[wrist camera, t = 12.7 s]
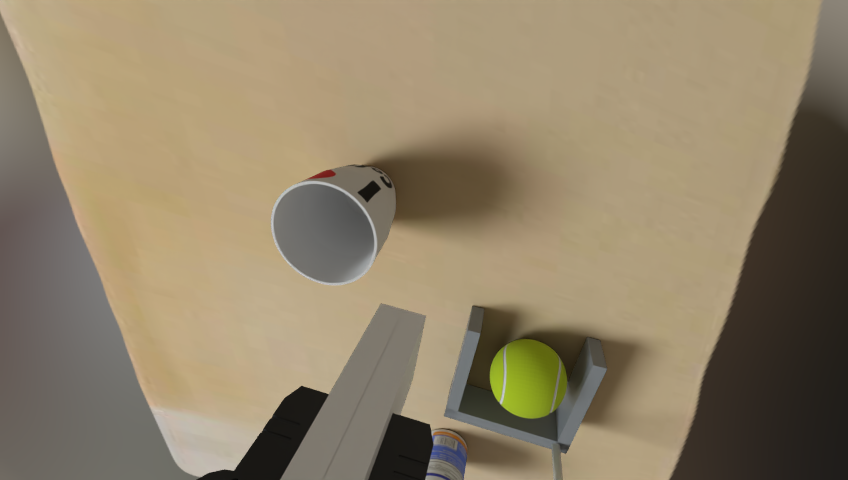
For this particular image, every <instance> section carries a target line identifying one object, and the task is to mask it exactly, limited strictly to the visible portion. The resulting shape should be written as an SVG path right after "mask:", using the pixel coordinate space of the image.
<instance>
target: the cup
mask: <svg viewBox="0 0 848 480" xmlns="http://www.w3.org/2000/svg"><path fill="white" fill-rule="evenodd" d="M395 211H396V192H395V187H394V185H393V183H392V181H391V179H390V178H389V177H388V175H387V174H385V173H384V172H383V171H382V170H380V169H378V168H375V167H372V166H364V165H348V166H344V167H339V168H335V169H330V170H326V171H323V172H321V173H319V174H317V175H315V176H313V177H310V178H308V179H306V180H304V181H302V182H299V183H297V184H295V185H293V186H291V187H289V188H288V189H287V190H285V191H284V192H283V193H282V194H281V195H280V196H279V198H278V199H277V201H276V203H275V205H274V207H273V211H272V216H271V230H272V235H273V238H274V241H275V244H276V246H277V248H278V250H279V252H280V254H281V255H282V256H283V258H284V259H285V260H286V262H287V263H288V264H289V265H290V266H291V267H292V268H293V269H294V270H296V271H297V272H298V273H300V274H301V275H303V276H304V277H306V278H308V279H310V280H312V281H315V282H318V283H321V284H326V285H343V284H348V283H351V282H353V281H356V280H357V279H359V278H361V277H362V276H363V275H364V274H365V273H366V272H367V271H368V270H369V269H370V267H371V265H372V264H373V262H374V260H375V258H376V257H377V255H378V253H379V251H380V250H381V248H382V246H383V244H384V242H385V241H386V239H387V237H388V234H389V231H390V228H391V225H392V222H393V219H394V215H395Z"/></svg>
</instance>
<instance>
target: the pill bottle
mask: <svg viewBox="0 0 848 480" xmlns="http://www.w3.org/2000/svg"><path fill="white" fill-rule="evenodd" d="M431 433H432V438H433V443H434V445H433V449H432V453H431V457H430V462H429V466H428V470H427V474H426V479H425V480H463V479H464V473H465V466H466V459H467V445H466V443H465V441H464V440H463V438H462V437H461V436H459V435H458V434H457V433H455V432H453V431H450V430H445V429H438V430H433V431H431Z"/></svg>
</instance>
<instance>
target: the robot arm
mask: <svg viewBox="0 0 848 480" xmlns="http://www.w3.org/2000/svg"><path fill="white" fill-rule="evenodd" d="M425 318H426V316H425V315H422V314H418V313H414V312H411V311H407V310H404V309H400V308H396V307H393V306H389V305H386V304H382V303H381V304H380V306H379V308H378V310H377V311H376V313H375V315H374V317H373V318H372V320H371V322H370V324H369V325H368V327H367V329H366V331H365V332H364V334H363V336H362V338H361V339H360V341H359V343H358V345H357V346H356V348H355V350H354V352H353V353H352V355H351V357H350V359H349V360H348V362H347V364H346V366H345V367H344V369H343V371H342V373H341V374H340V376H339V378H338V380H337V381H336V383H335V385H334V387H333V388H332V390H331V392H330V394H326V393H323V392H320V391H317V390H313V389H310V388H307V387H304V386H301V387H300V388H298V389H297V390H295V391H294V392H292V393H291V394H290V395H288V396H287V397H285V398H284V400H283V401H282V403H281V404H280V405H279V407H278V408H277V410H276V411H275V413H274V414H273V417H272V418H270V420H269V421H268V423H267V424H266V426H265V427H264V429H263V431H262V433H260V434H259V436H258V437H257V439H256V440H255V442H254V443H253V444H252V446H251V447H250V449H249V450H248V452H247V453H246V455H245V456H244V457H243V459H242V460H241V462H240V463H239V465H238V466H237V467H236V469H235V470H234V471H231V470H220V471H216V472H211V473H208V474H206V475H204V476H203V477H201V478H199V479H197V480H425V479H426V474H427V470H428V466H429V462H430V457H431V453H432V449H433V445H434V443H433V438H432V433H431V428H430V424H426V423H423V422H420V421H417V420H413V419H410V418H407V417H404V416H401V415H400V414H401V411H402V408H403V406H404V403H405V400H406V397H407V394H408V391H409V388H410V385H411V382H412V380H413V375H414V370H415V366H416V361H417V356H418V351H419V347H420V342H421V337H422V333H423V328H424V323H425Z"/></svg>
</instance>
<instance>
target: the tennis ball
mask: <svg viewBox="0 0 848 480" xmlns="http://www.w3.org/2000/svg"><path fill="white" fill-rule="evenodd" d="M490 384H491V388H492V391H493V394H494V396H495V398H496V399H497V401H498V402H500V404H501V405H502V406H503V407H504V408H505V409H506V410H507V411H509V412H510V413H512V414H514V415H516V416H519V417H523V418H530V419H533V418H540V417H544V416H546V415H549V413H552V412H553V411H555V410H556V409H557V408H558V406H559V405H560V404H561V402H562V400H563V398H564V396H565V393H566V389H567V374H566V370H565V367H564V364H563V362H562V360H561V359H560V357H559V356H558V355H557V353H556V352H555V351H554V350H553V349H552V348H550V347H549V346H547V345H546V344H544V343H541V342H539V341H536V340H531V339H520V340H515V341H512V342H510V343H508V344H506V345H505V346H504V347H502V348H501V349H500V350H499V351H498V353H497V354H496V356H495V357H494V359H493V362H492V364H491V368H490Z"/></svg>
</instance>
